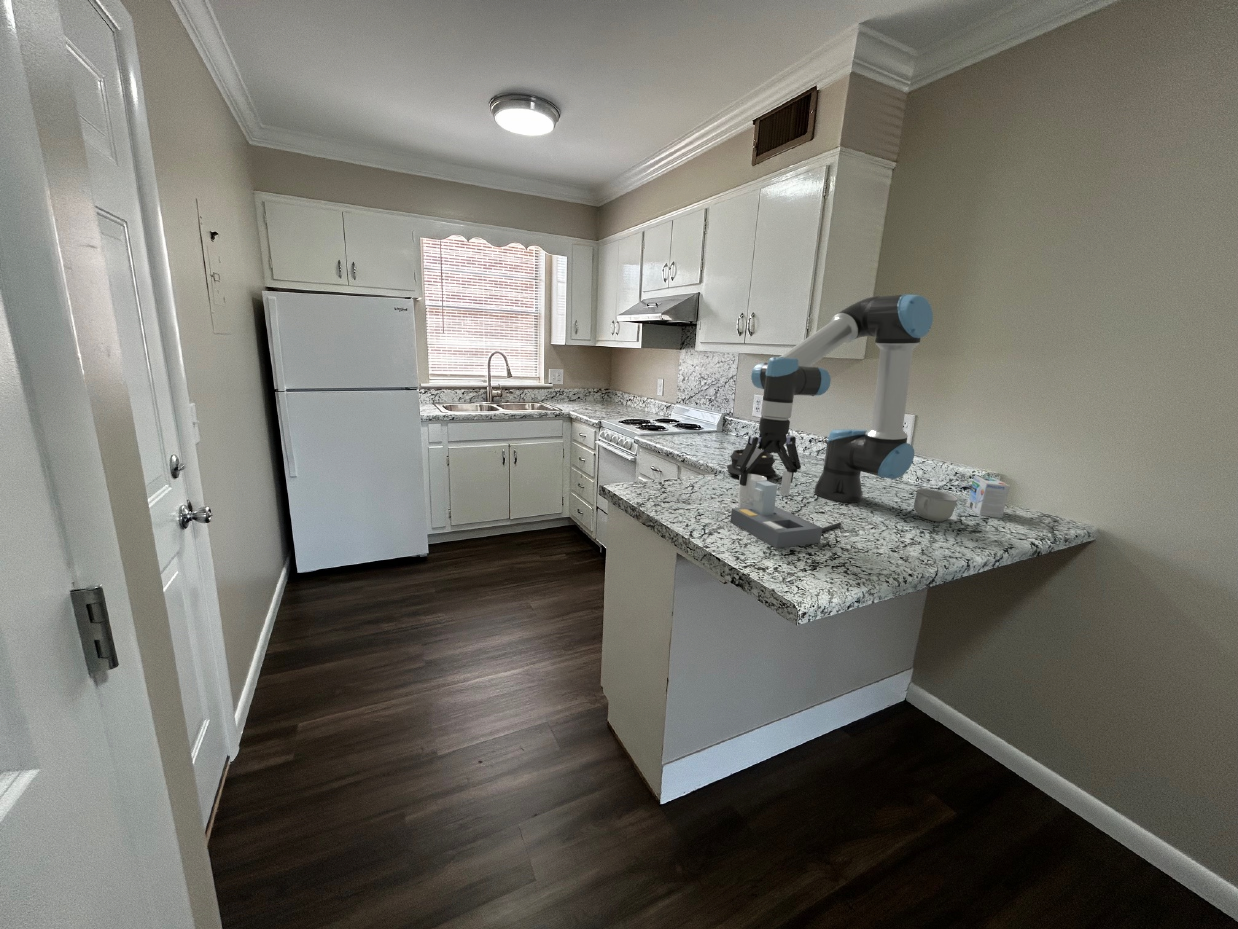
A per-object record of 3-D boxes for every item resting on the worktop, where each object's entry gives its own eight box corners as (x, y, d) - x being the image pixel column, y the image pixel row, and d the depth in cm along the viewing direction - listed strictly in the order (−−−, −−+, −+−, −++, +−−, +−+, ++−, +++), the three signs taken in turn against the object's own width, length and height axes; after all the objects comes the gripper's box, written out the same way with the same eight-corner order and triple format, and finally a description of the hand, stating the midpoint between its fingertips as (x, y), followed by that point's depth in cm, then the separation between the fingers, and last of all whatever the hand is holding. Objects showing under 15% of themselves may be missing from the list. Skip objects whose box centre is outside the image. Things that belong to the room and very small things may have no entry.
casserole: (764, 485, 183) (767, 462, 181) (715, 475, 192) (718, 453, 190) (783, 473, 204) (786, 452, 202) (738, 464, 213) (740, 445, 211)
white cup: (743, 503, 159) (746, 472, 157) (767, 509, 154) (771, 477, 152) (731, 508, 153) (735, 476, 151) (755, 515, 148) (760, 482, 146)
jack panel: (770, 518, 146) (772, 504, 145) (819, 542, 130) (822, 527, 129) (730, 522, 141) (731, 507, 140) (776, 548, 124) (778, 532, 123)
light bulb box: (966, 506, 172) (973, 475, 169) (988, 508, 170) (996, 477, 168) (979, 515, 162) (986, 483, 159) (1003, 518, 160) (1011, 485, 158)
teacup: (928, 511, 163) (933, 487, 161) (961, 523, 153) (966, 497, 151) (896, 514, 158) (901, 489, 156) (928, 526, 148) (933, 500, 146)
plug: (762, 522, 142) (767, 481, 139) (771, 527, 139) (777, 485, 136) (748, 524, 140) (753, 482, 137) (757, 529, 137) (763, 486, 134)
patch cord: (837, 525, 144) (838, 521, 144) (841, 526, 143) (841, 523, 143) (805, 535, 134) (805, 532, 133) (808, 537, 133) (809, 533, 133)
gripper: (801, 416, 141) (790, 489, 146) (727, 415, 131) (718, 494, 136) (822, 420, 134) (810, 497, 139) (745, 419, 124) (734, 502, 129)
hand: (764, 495), depth 138 cm, fingers open, 13 cm apart
